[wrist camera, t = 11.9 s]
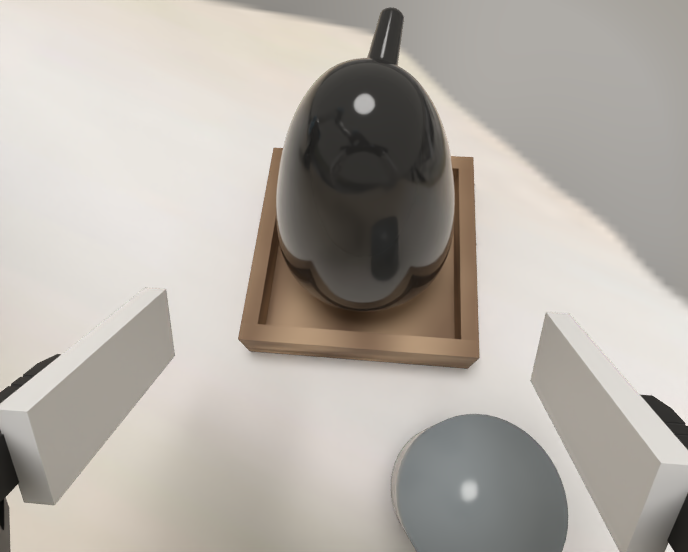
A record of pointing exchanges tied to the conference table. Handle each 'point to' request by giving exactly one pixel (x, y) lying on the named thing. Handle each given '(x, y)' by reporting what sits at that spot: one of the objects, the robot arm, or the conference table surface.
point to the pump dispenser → (366, 182)
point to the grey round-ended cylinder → (478, 489)
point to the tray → (367, 326)
